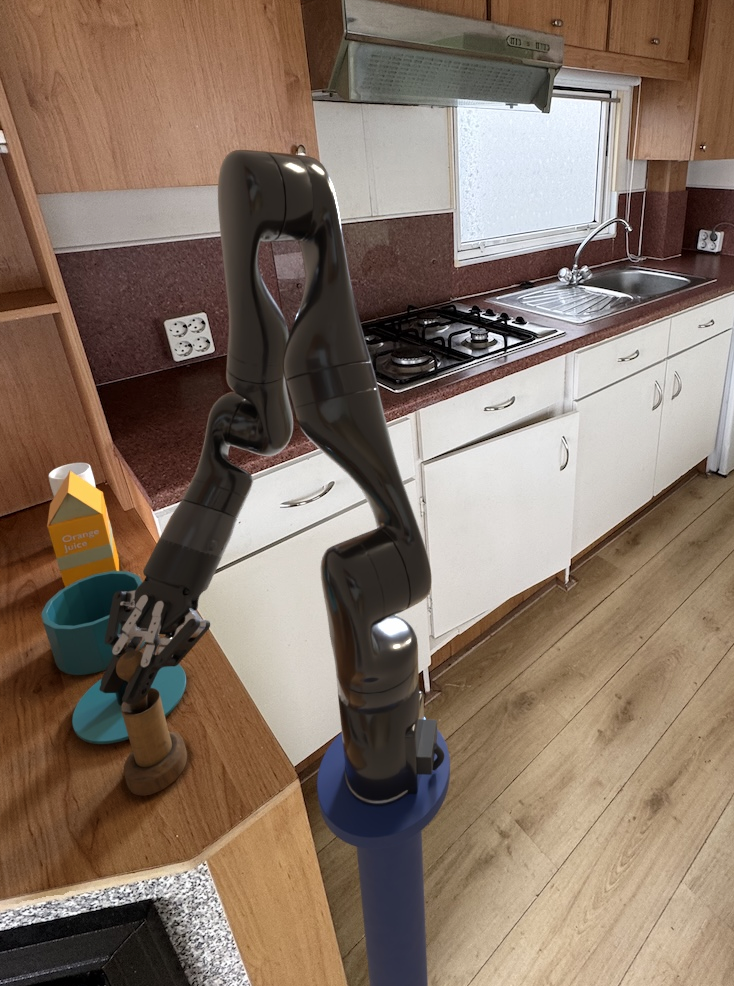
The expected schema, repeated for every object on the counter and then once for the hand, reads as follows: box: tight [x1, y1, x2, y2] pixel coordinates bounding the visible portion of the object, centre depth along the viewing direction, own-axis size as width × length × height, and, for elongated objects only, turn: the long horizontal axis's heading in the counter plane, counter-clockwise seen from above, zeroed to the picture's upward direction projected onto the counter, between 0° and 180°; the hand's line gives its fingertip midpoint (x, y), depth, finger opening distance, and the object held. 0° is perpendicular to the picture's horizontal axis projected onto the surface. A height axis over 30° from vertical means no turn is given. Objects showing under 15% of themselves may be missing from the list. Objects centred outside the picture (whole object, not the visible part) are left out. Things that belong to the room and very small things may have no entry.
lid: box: [71, 663, 187, 745], centre depth 79 cm, size 13×13×7 cm
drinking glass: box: [47, 462, 97, 498], centre depth 113 cm, size 7×7×15 cm
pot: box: [40, 570, 146, 676], centre depth 89 cm, size 13×13×8 cm
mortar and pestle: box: [116, 650, 188, 796], centre depth 68 cm, size 7×6×18 cm
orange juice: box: [46, 471, 120, 588], centre depth 101 cm, size 8×9×20 cm
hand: (119, 696), depth 65 cm, fingers closed on mortar and pestle, 3 cm apart
